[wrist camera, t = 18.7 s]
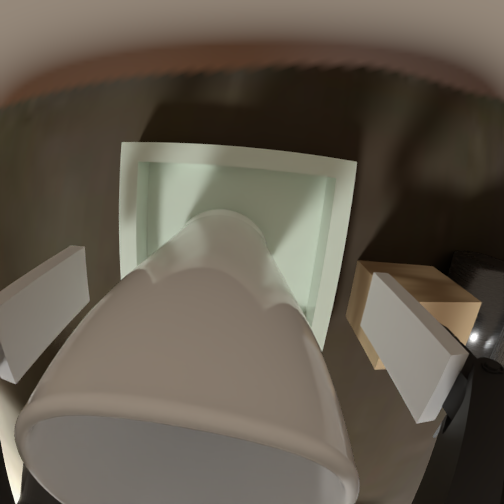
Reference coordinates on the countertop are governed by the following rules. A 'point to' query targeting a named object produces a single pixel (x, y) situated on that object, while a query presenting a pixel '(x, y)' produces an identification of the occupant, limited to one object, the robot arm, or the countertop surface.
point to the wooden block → (423, 290)
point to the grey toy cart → (483, 301)
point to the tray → (243, 208)
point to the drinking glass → (192, 386)
